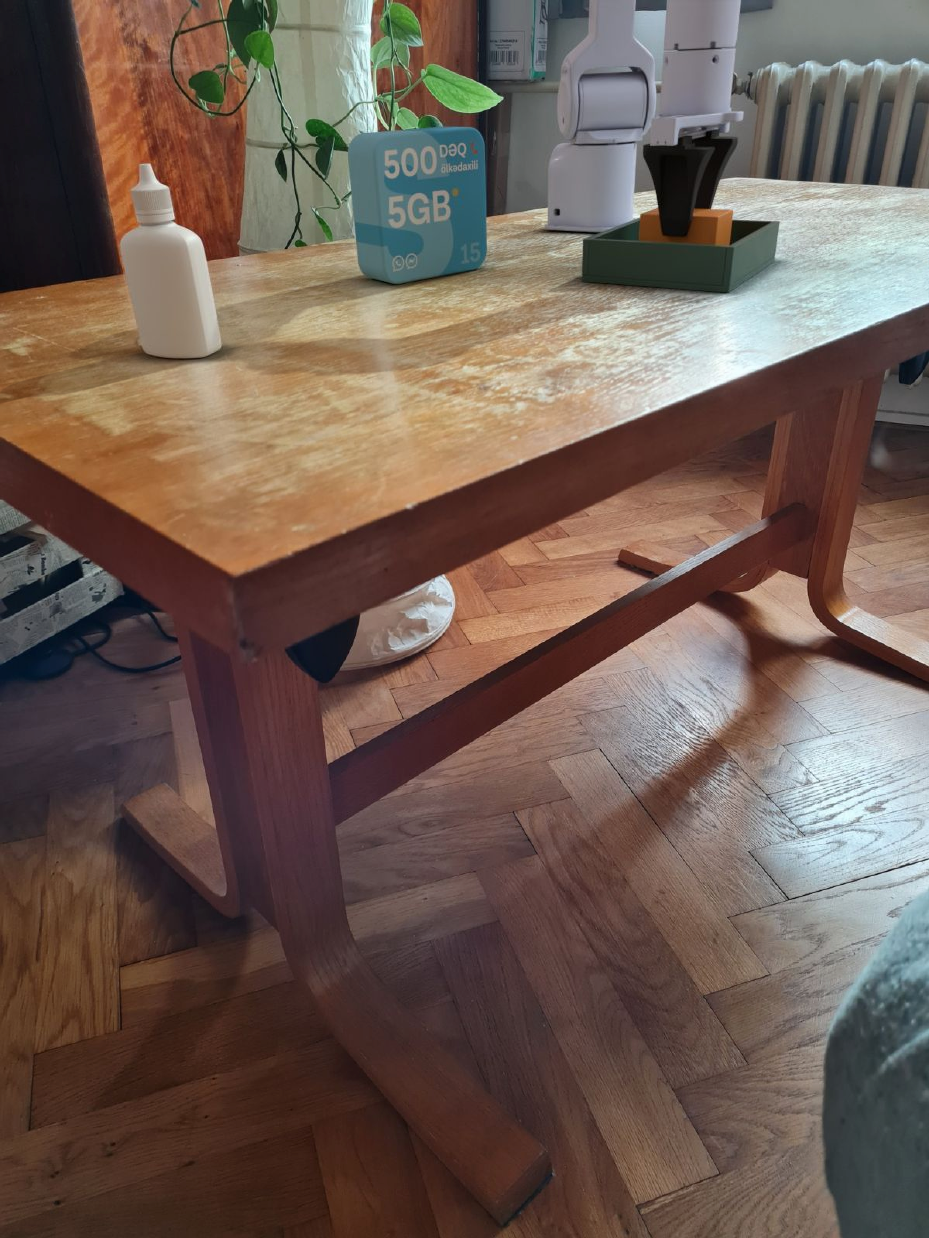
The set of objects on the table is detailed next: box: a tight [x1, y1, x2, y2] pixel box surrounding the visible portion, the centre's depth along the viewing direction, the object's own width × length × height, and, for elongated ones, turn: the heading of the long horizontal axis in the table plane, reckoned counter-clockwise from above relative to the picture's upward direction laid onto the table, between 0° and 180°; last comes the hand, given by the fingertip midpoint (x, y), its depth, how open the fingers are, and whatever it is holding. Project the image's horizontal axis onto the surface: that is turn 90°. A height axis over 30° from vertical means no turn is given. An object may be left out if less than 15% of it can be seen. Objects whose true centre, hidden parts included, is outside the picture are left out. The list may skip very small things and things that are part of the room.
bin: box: [581, 217, 780, 294], centre depth 80 cm, size 13×14×4 cm
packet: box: [639, 207, 734, 246], centre depth 79 cm, size 7×4×3 cm, turn 59°
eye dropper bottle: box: [119, 163, 222, 359], centre depth 60 cm, size 4×6×12 cm
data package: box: [347, 126, 488, 285], centre depth 81 cm, size 12×4×12 cm, turn 128°
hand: (683, 231), depth 79 cm, fingers closed on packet, 4 cm apart
